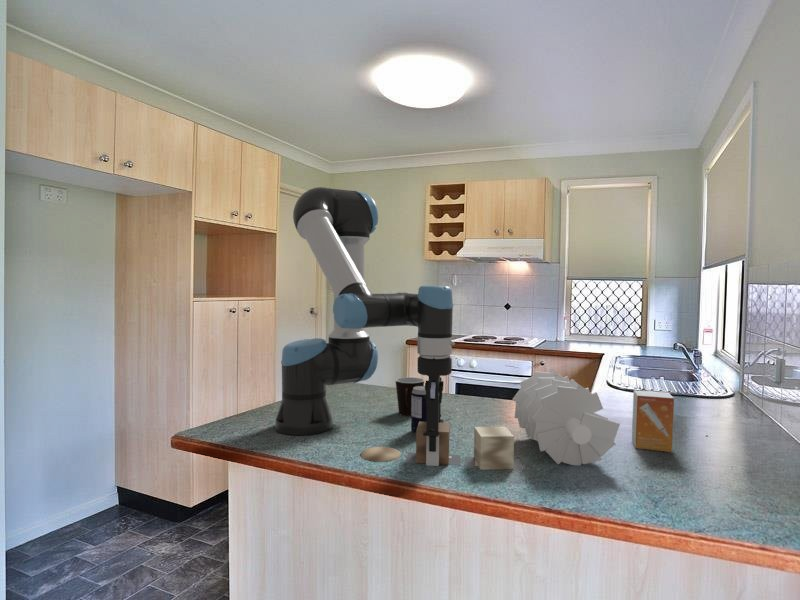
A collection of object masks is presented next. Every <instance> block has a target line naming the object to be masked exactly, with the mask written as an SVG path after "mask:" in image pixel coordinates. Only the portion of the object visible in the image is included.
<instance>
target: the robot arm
mask: <svg viewBox="0 0 800 600" xmlns="http://www.w3.org/2000/svg"><path fill="white" fill-rule="evenodd" d="M292 212H293V213H292V214H293V215H292V218H293V225H294V227H295V229H296V232H297V233H298V235H299V237H301V239H303V240H306V242H307V244H308V245H309V248H310V250H311V252H312V254H313V255H314V257H315V259H316V261H317V263H318V265H319V267H320V269H321V271H322V273H323V275H324V276H325V280H326V281H327V282H328V284H329V286H330V289H331V291H332V293H333V305H332V314H333V330H332V331H331V332H330V333H329V334H328V343H327V341H326V340H325V339H324V338H319V337H317V338H316V337H314V338H305V339H300V340H295V341H292V342H289V343H287V344H285V345H284V347H283V348H282V350H281V351H282V354H281V361H280V362H281V363H280V364H281V402H280V405H279V408H278V411H277V415H276V417H275V421H274V423H275V424H274V426H275V431H276V432H278V433H281V434H285V435H290V436H307V435H315V434H319V433H324V432H327V431H329V430H330V429H331V428H332V427H333V415H332V412H331V410H330V405H329V404H328V401H327V386H328V387H329V386H335V385H342V384H356V383H359V382H363V381H367V380H369V379H370V378H372V376H373V375H374V374H375V372H376V370H377V367H378V360H379V352H378V349H377V346H376V344H375V342H374V341H372V340H370V334H369V333H368V332H367V331H366V330H365V329H366V328H379V327H385V328H386V327H399V326H409V327H417V350H416V351H417V354H418V355H419V356H418V357H417V373H418V374H420V375H422V376H427V377H428V380H425V382H424V386H425V391H426V403H427V424H426V433H423V436H426V464H425V466H432V467H439V465H440V464H439V432H438V431H439V423H445V422H444V419H442V418H441V417H442V414H441V407H442V405H441V404H442V402H443V401H442V400H443V391H444V380H443V379H442V377H445V376H450V375H451V374H452V371H453V370H452V369H453V358H452V357H451V355H452V352H453V351H452V349H453V348H452V346H455V344H456V342H455V341H454V340H453V308H454V303H453V300H454V299H453V290H452V288H451V287H450V286H448V285H421V286H420V287H418V293H408V292H395V293H372V291H371V290H370V288H369V287H368V285H367V284H366V282H365V246H366V244H367V243H368V242H369V241H370V235H371V234H373V233H374V232H375V230H377V229H376V228H377V225H378V223H379V212H378V207H377V204H376V201H375V200H374V199H373V197H372V196H371V195H369V194H368V193H365V192H360V191H357V190H347V189H338V188H330V187H329V188H328V187H322V186H320V187H313V188H310V189H308V190H306V191H305V192H304V193H302V194H301V195H300V197H298V199H297V201H296V203H295V205H294V208H293V211H292Z"/></svg>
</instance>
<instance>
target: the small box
mask: <svg viewBox="0 0 800 600" xmlns="http://www.w3.org/2000/svg"><path fill="white" fill-rule="evenodd" d="M632 394H633V396H632V397H633V398H632V421H631V422H632V423H631V424H632V425H631V428H632V431H631V442H632V443H633V446H634V448H635V449H640V450H642V449H643V450H648V451H649V450H650V451H651V450H652V451H660V452H667V453H672V452H673V441H674V440H673V439H674V438H673V437H674V436H673V435H674V415H675V413H674V412H675V411H674V409H675V398H674V396H672V395H671V393H670V392H664V391H663V392H661V391H651V390H650V391H649V390H635V389H634V390H633V393H632Z"/></svg>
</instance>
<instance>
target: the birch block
mask: <svg viewBox="0 0 800 600" xmlns="http://www.w3.org/2000/svg"><path fill="white" fill-rule="evenodd" d="M473 429H474V431H473V432H474V433H473V444H474V445H473V457H474V459H475V461H476V462H477V464H478V466H479V468H478V469H480V471H481V470H483V471H484V470H503V469H514V459H515V457H514V455H515V453H514V452H515V435H513V434H512V432H511V431H510V430H509V429H508V427H506V426H474V427H473Z"/></svg>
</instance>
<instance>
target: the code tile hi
mask: <svg viewBox="0 0 800 600" xmlns="http://www.w3.org/2000/svg"><path fill="white" fill-rule="evenodd" d="M464 460H465V461H464V462H465V463H464V466H465V467H464V468H469V469H470V468H471V469H480V468H479V466H478V464H477V462H476V461H475V459H474V456H465V457H464ZM502 470H504V471H507V470H509V471H522V472H523V471H524V468H523V466H522V463H521V460H520V459H516V458H514V469H502Z"/></svg>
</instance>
